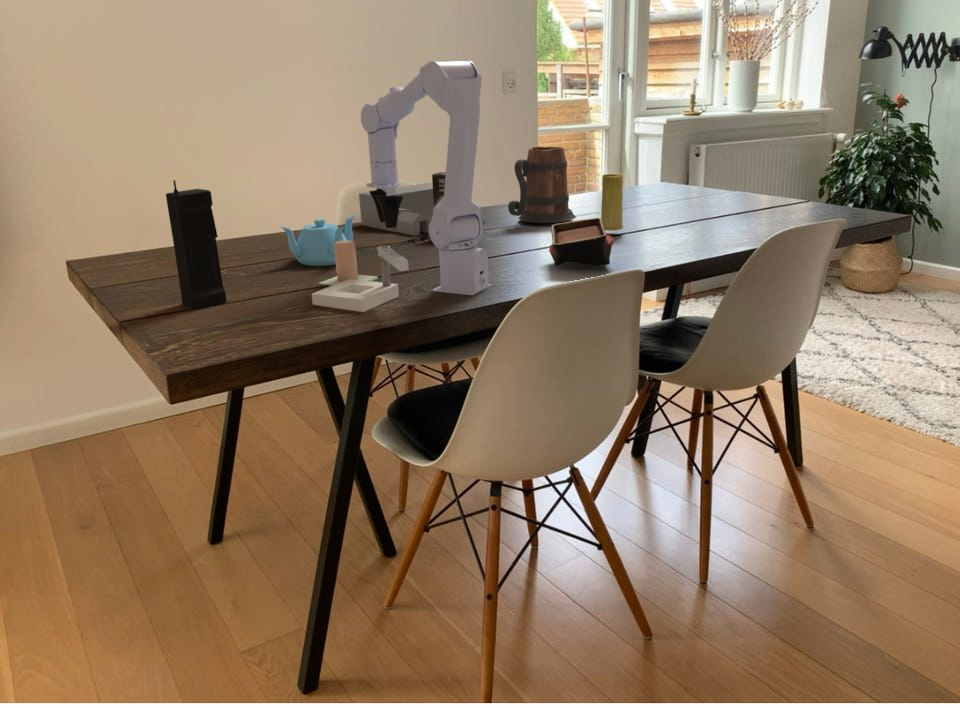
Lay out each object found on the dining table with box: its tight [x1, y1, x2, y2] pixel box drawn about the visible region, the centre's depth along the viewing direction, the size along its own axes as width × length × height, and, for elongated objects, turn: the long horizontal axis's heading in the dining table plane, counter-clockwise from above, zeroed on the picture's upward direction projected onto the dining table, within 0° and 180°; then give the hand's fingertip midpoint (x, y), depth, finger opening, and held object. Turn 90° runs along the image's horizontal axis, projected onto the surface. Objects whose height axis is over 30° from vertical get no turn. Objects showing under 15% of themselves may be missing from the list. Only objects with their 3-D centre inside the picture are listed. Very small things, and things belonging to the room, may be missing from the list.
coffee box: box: [431, 171, 446, 208], centre depth 220 cm, size 9×6×16 cm
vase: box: [600, 173, 624, 231], centre depth 218 cm, size 6×6×14 cm
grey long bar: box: [377, 245, 410, 272], centre depth 153 cm, size 15×2×2 cm, turn 21°
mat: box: [318, 274, 379, 287], centre depth 175 cm, size 9×9×1 cm
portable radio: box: [165, 179, 227, 310], centre depth 156 cm, size 8×6×25 cm
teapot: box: [280, 214, 356, 267], centre depth 193 cm, size 15×15×10 cm
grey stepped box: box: [358, 182, 434, 243], centre depth 228 cm, size 25×23×11 cm
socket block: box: [311, 257, 400, 313], centre depth 159 cm, size 12×12×8 cm
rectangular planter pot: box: [548, 217, 614, 267], centre depth 184 cm, size 14×18×10 cm
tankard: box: [507, 146, 576, 224], centre depth 235 cm, size 24×17×20 cm
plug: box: [334, 240, 359, 282], centre depth 174 cm, size 4×4×8 cm
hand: (388, 224), depth 180 cm, fingers open, 7 cm apart
